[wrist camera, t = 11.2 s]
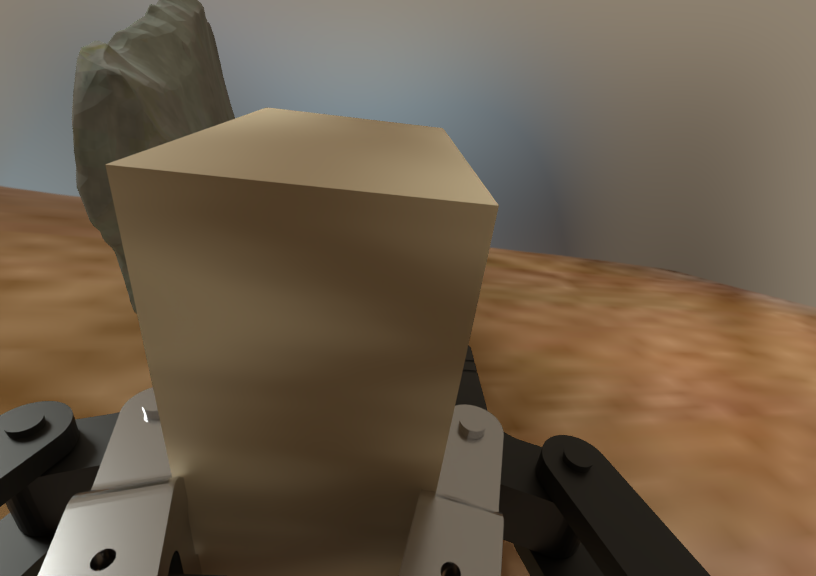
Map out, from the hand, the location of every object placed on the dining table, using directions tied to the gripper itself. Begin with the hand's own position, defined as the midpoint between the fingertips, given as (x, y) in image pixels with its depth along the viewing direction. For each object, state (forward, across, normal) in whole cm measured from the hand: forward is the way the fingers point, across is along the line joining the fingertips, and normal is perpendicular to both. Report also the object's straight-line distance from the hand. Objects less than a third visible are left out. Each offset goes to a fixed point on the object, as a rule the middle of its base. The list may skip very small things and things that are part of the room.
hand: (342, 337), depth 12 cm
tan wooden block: (-3, 0, +8) cm, 9 cm away
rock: (+18, +11, +10) cm, 24 cm away
